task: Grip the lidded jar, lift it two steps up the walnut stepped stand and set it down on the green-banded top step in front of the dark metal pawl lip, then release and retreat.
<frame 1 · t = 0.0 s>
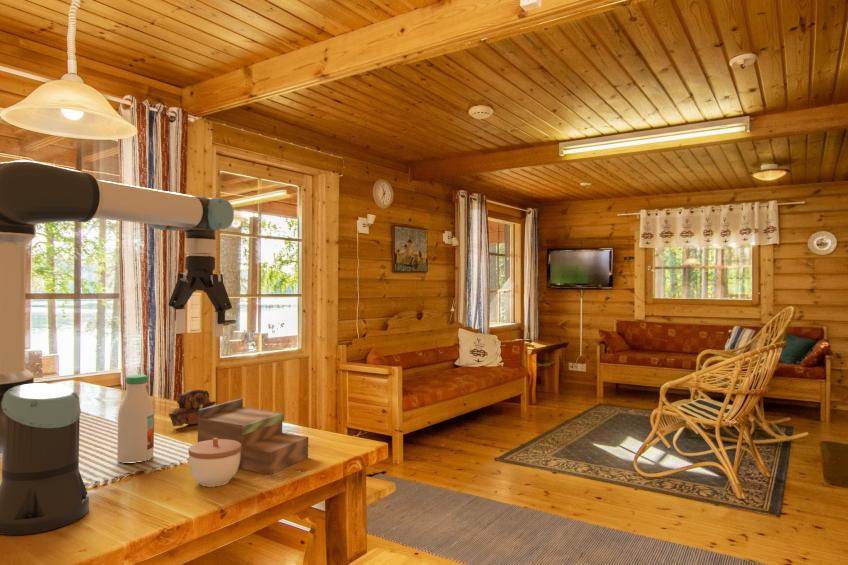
hand: (199, 335, 155), 28 cm above the table, tool pointing down, fingers open, 13 cm apart
lidded jar: (214, 482, 124), on the table
stepped stand: (261, 459, 139), on the table
milk bottle: (135, 460, 138), on the table
wooden carving: (193, 424, 170), on the table
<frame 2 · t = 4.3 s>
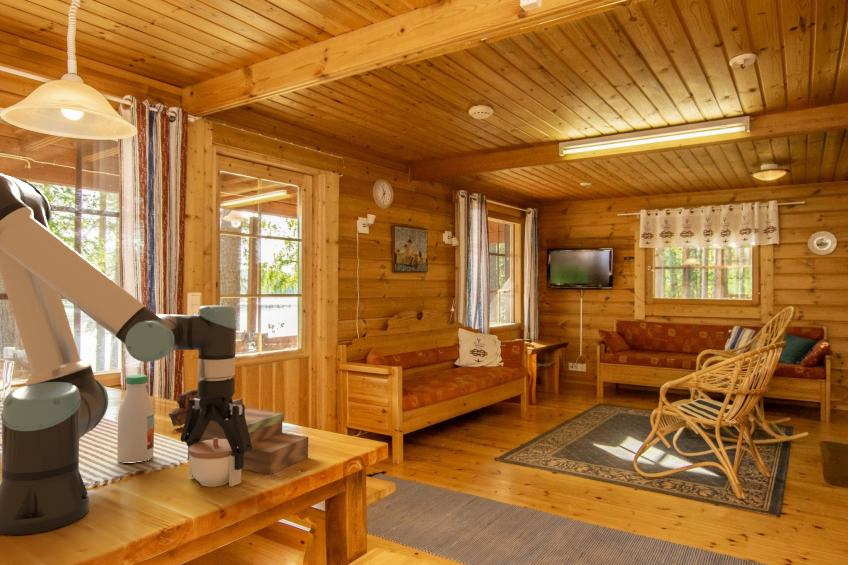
hand: (214, 479, 124), 0 cm above the table, tool pointing down, fingers closed on lidded jar, 11 cm apart
lidded jar: (214, 482, 124), on the table, touching gripper
everything else where it was.
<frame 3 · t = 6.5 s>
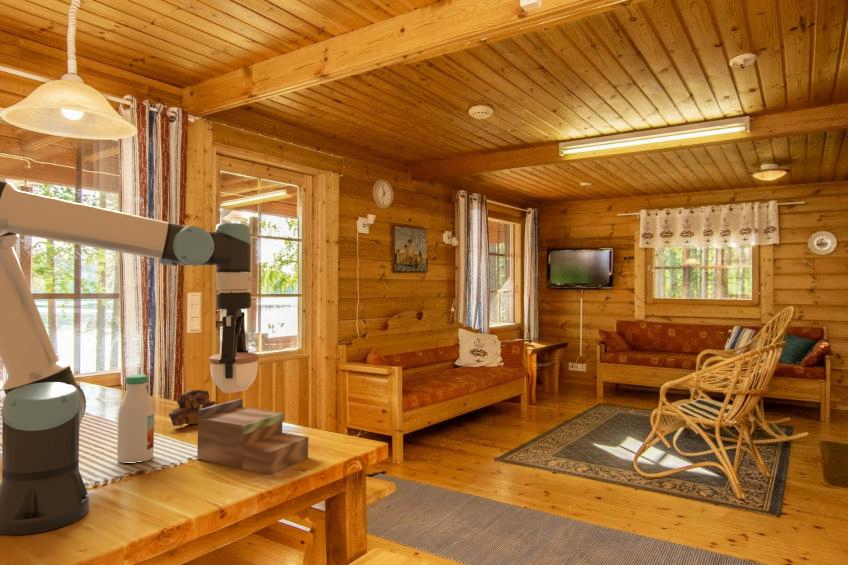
hand: (234, 387, 133), 19 cm above the table, tool pointing down, fingers closed on lidded jar, 11 cm apart
lidded jar: (234, 390, 133), point 18 cm above the table, touching gripper
everything else where it was.
when the fingers open (12 cm above the table, at t = 9.0 s): lidded jar drops 1 cm, resting on stepped stand.
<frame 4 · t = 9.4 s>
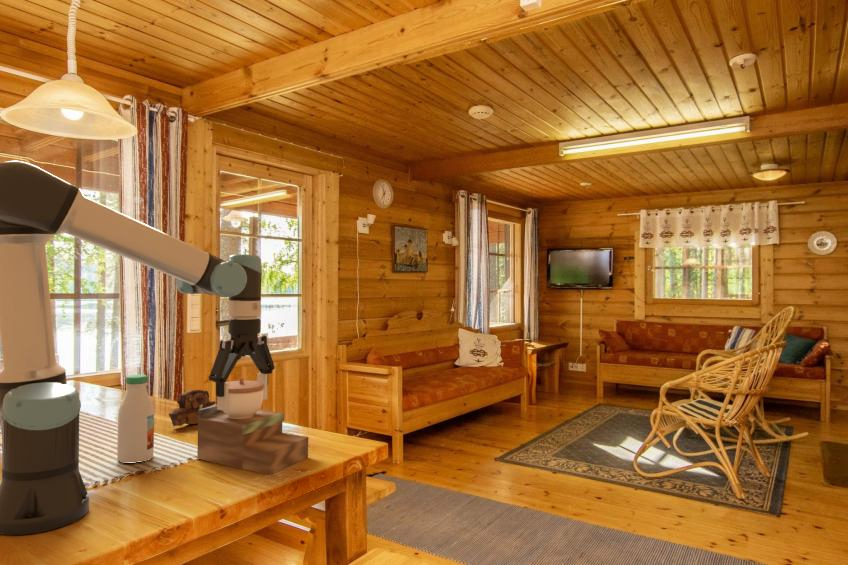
hand: (243, 404, 142), 13 cm above the table, tool pointing down, fingers open, 13 cm apart
lidded jar: (240, 416, 141), point 10 cm above the table, touching stepped stand
everything else where it was.
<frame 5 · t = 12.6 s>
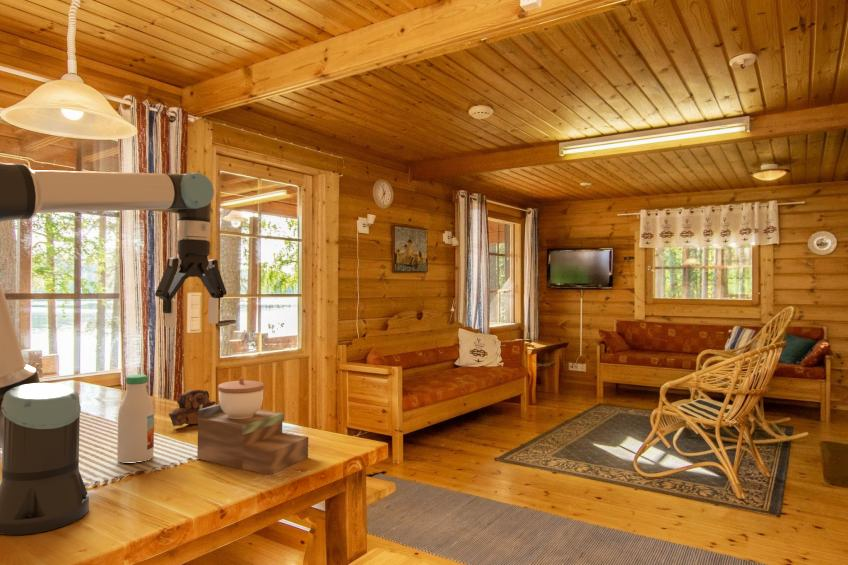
hand: (192, 325, 143), 32 cm above the table, tool pointing down, fingers open, 13 cm apart
nothing on the table moved.
at the end: lidded jar inside the target area (0.7 cm from its centre), point 9.8 cm above the table; lidded jar tilted 0°; the gripper is holding nothing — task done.
